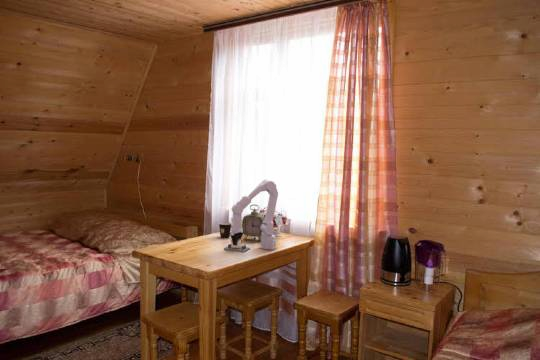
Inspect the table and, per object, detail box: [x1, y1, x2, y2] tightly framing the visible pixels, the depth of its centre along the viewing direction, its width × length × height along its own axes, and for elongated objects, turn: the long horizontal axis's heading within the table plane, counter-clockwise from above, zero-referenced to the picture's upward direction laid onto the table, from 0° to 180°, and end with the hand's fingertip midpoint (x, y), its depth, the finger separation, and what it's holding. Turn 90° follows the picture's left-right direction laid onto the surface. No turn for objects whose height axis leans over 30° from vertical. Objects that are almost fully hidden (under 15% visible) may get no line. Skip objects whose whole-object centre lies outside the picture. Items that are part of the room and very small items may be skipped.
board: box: [223, 243, 251, 253], centre depth 286 cm, size 14×9×3 cm, turn 69°
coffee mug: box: [218, 221, 232, 239], centre depth 318 cm, size 12×9×10 cm
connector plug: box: [230, 238, 242, 248], centre depth 286 cm, size 5×4×5 cm
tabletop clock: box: [241, 204, 265, 242], centre depth 313 cm, size 14×9×25 cm, turn 73°
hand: (236, 244), depth 286 cm, fingers closed on connector plug, 4 cm apart
